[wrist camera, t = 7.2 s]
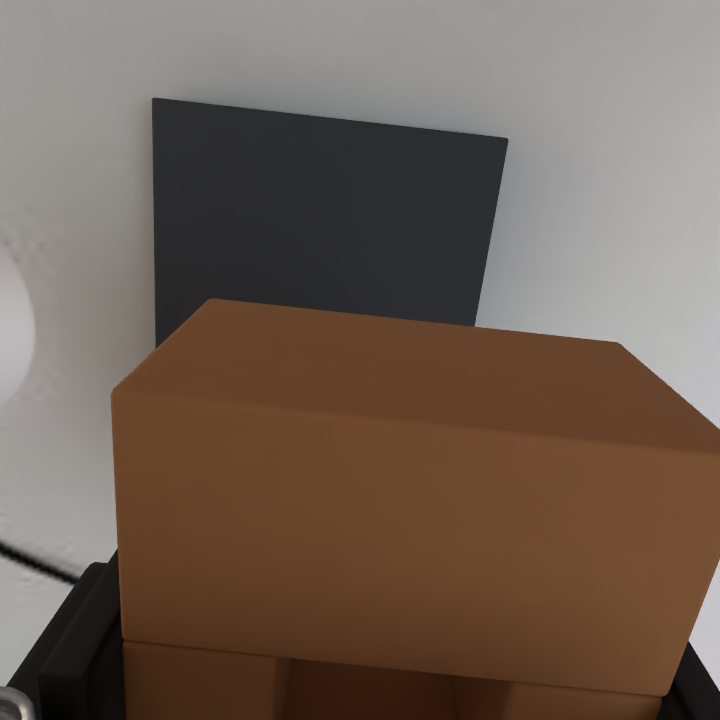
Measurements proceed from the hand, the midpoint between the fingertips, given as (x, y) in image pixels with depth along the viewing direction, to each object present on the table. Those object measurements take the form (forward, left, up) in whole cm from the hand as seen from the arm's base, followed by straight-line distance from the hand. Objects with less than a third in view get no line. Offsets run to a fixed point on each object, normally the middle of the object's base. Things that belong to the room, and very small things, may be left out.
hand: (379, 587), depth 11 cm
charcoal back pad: (+2, -3, -18) cm, 18 cm away
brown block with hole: (0, 0, -1) cm, 1 cm away
